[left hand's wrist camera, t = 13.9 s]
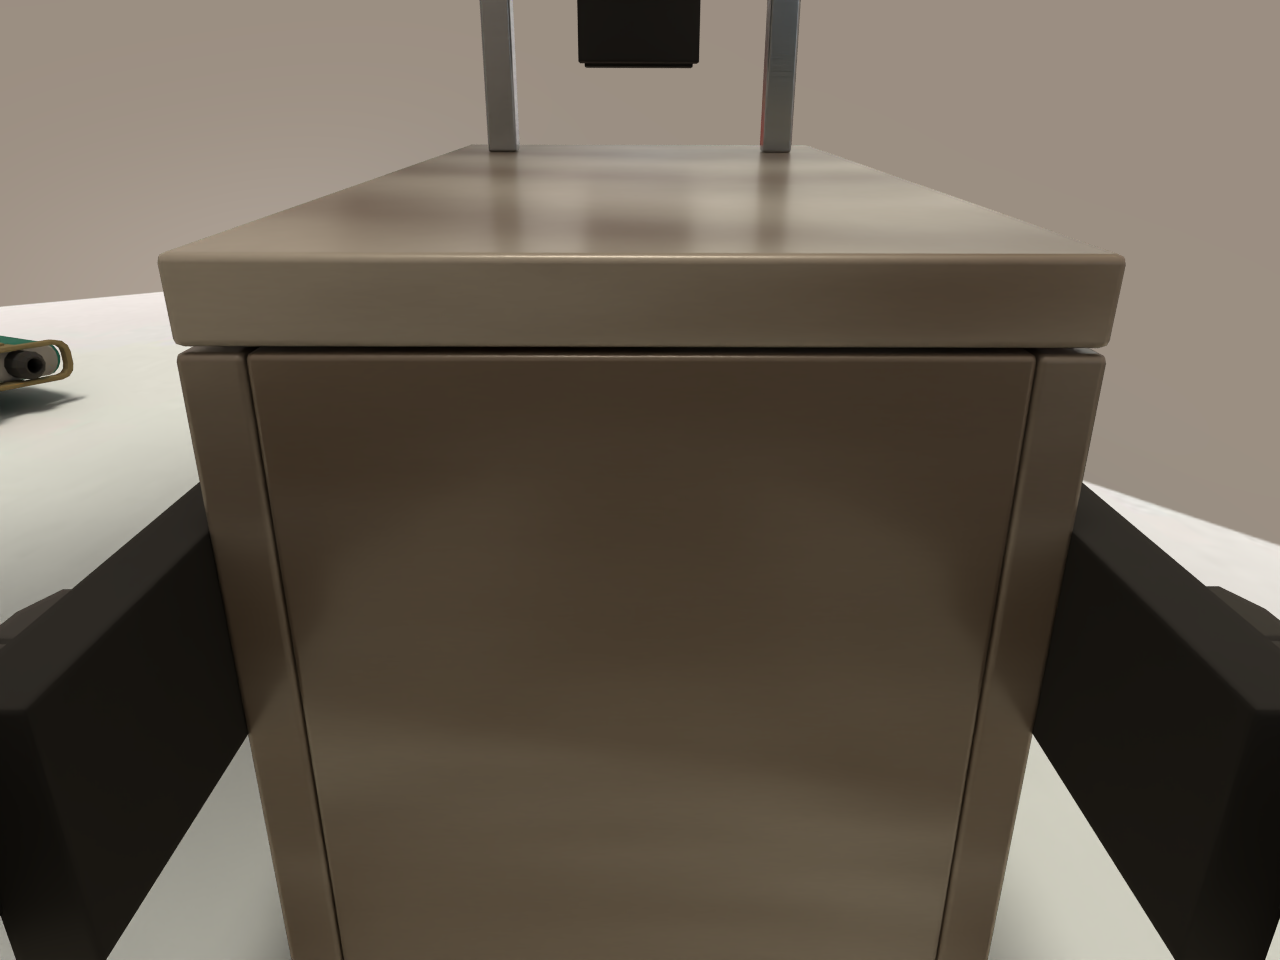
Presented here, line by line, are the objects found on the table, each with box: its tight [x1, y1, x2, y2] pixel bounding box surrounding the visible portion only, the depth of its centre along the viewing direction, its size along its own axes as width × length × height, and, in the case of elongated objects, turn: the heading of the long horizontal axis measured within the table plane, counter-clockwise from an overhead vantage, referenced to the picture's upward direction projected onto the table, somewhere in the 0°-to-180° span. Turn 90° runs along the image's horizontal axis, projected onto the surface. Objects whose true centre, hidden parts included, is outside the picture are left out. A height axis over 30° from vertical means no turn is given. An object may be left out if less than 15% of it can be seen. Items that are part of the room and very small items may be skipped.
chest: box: [177, 346, 1106, 960], centre depth 19 cm, size 17×10×10 cm, turn 0°
